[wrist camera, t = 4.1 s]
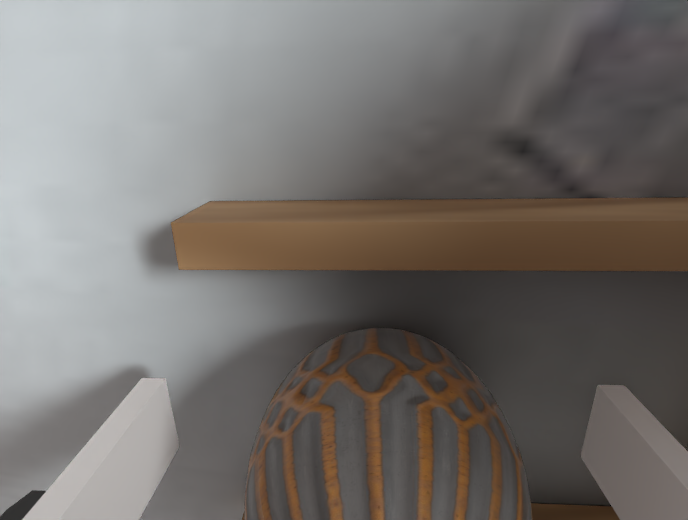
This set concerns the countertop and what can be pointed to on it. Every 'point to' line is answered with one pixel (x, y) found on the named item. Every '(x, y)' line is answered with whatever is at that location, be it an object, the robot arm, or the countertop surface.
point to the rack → (441, 244)
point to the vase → (384, 438)
